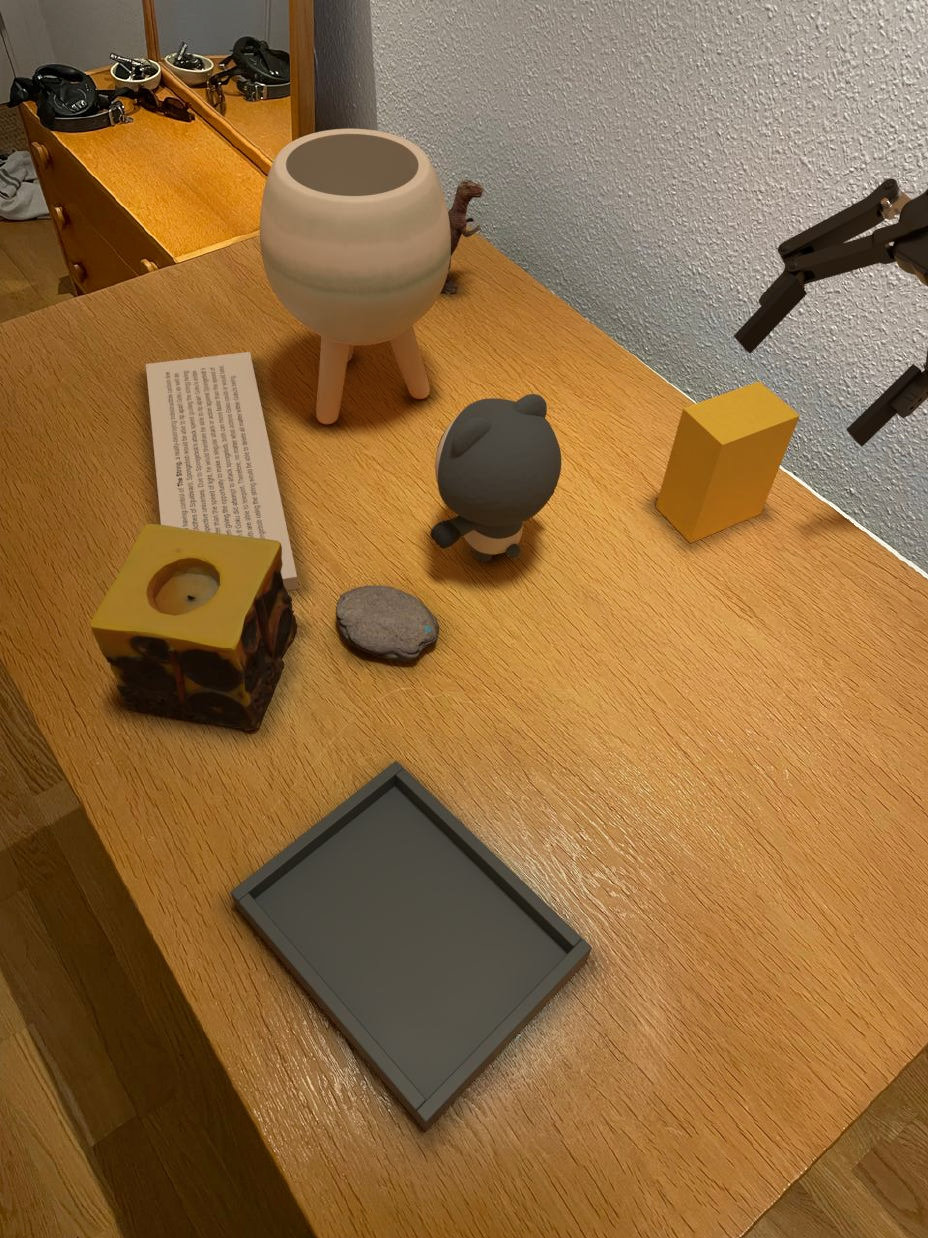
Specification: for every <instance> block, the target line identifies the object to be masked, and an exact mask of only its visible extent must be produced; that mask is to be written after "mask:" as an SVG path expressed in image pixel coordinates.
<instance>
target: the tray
mask: <svg viewBox="0 0 928 1238" xmlns="http://www.w3.org/2000/svg"><path fill="white" fill-rule="evenodd" d="M230 895H231V898H232V901H233V903H234V906H235V908H236V909H237V910H238V912H239V913H240V914H241V915H242V916H243V917H244V918H245V920H246V921H247V922H248V923H249V924H250V926H251V927H252V928H253V929H254V931H256V933H257V934H258V936H260V938H261V939H262V940H263V942H265V943H266V945H267V946H268V947H269V949H271V950H272V952H273V953H274V954H275V955H276V956H277V958H278V959H279V960H280V962H282V964H283V965H284V966H285V967H286V968H287V970H288V971H289V972H290V973H291V974H292V976H293V977H294V978H295V980H297V981H298V983H299V984H300V985H301V986H302V987H303V988H304V990H305V991H306V992H307V993H308V994H309V995H310V997H311V998H312V999H313V1000H314V1002H315V1003H316V1004H317V1005H318V1006H319V1008H320V1009H321V1010H322V1011H323V1013H325V1014H326V1016H327V1017H328V1018H329V1019H330V1020H331V1022H332V1023H333V1024H334V1025H335V1026H336V1027H337V1029H338V1030H339V1031H340V1032H341V1033H342V1035H343V1036H344V1037H345V1038H346V1040H347V1041H348V1042H349V1043H350V1044H351V1045H352V1047H353V1048H354V1049H355V1050H356V1051H357V1053H358V1054H359V1055H360V1056H361V1057H362V1058H363V1060H364V1061H365V1062H366V1063H367V1064H368V1065H369V1067H370V1068H371V1070H373V1071H374V1072H375V1074H376V1075H377V1076H378V1078H379V1079H380V1080H381V1081H382V1082H383V1084H384V1085H386V1087H387V1088H388V1089H389V1090H390V1091H391V1093H392V1094H393V1096H395V1097H396V1099H397V1100H398V1101H399V1102H400V1103H401V1105H402V1106H403V1107H404V1108H405V1109H406V1110H407V1112H408V1113H409V1114H410V1115H411V1116H412V1118H413V1119H414V1120H415V1121H416V1123H418V1125H419V1126H420V1127H421V1128H422V1129H423V1131H424V1132H427V1131H428V1130H429V1129H430V1127H432V1125H434V1124H435V1123H436V1121H437V1120H438V1119H439V1118H440V1117H442V1115H443V1114H444V1113H445V1112H446V1111H447V1110H448V1108H450V1106H451V1105H452V1104H453V1103H454V1102H455V1101H456V1100H457V1099H458V1098H459V1097H460V1096H461V1095H462V1094H463V1093H464V1092H465V1091H466V1090H467V1088H469V1086H470V1085H471V1084H472V1083H473V1082H475V1080H476V1079H477V1078H478V1077H479V1076H480V1075H481V1074H482V1073H483V1071H485V1069H486V1068H487V1067H488V1066H489V1065H490V1064H491V1063H492V1062H493V1061H495V1059H496V1058H497V1057H498V1056H499V1055H500V1053H501V1052H503V1050H504V1049H506V1047H507V1046H508V1045H509V1044H510V1043H511V1042H512V1041H513V1040H514V1039H515V1038H516V1037H517V1036H518V1034H519V1033H520V1032H521V1031H523V1029H524V1028H525V1027H526V1026H527V1025H528V1024H529V1023H530V1022H531V1021H532V1020H533V1019H534V1017H536V1015H538V1013H540V1011H541V1010H542V1009H543V1008H544V1007H545V1006H546V1005H547V1004H548V1003H549V1002H550V1001H551V1000H552V999H553V998H554V996H556V994H557V993H558V992H559V991H561V989H562V988H563V987H564V986H565V985H566V984H567V983H568V982H569V981H570V980H571V978H572V977H573V976H574V975H576V973H577V972H578V971H579V970H580V969H581V968H582V967H583V966H584V965H585V964H586V963H587V961H588V960H589V957H590V954H591V951H592V949H593V947H592V945H590V943H588V942H587V941H586V939H584V938H583V937H582V936H581V935H580V934H579V933H578V932H576V931H575V930H574V929H573V928H572V927H571V926H570V925H569V924H568V923H567V922H566V921H565V920H564V919H563V918H562V917H561V916H560V915H559V914H557V912H556V911H554V909H553V908H551V907H550V906H549V904H547V903H546V902H545V901H544V900H543V899H542V898H541V897H540V896H539V895H538V894H537V893H535V891H533V889H532V888H530V887H529V886H528V885H527V884H526V883H525V882H524V881H523V880H522V879H521V878H520V877H519V876H518V875H517V874H516V873H515V872H514V871H513V870H511V869H510V867H509V866H508V865H507V864H505V863H504V862H503V860H501V858H499V857H498V856H497V855H496V854H495V853H494V852H493V851H492V850H491V849H489V847H488V846H487V845H486V844H484V842H482V840H480V838H478V837H477V836H476V835H475V834H474V833H473V832H472V831H471V830H470V829H469V828H467V827H466V825H465V824H463V823H462V822H461V820H459V819H458V818H457V817H456V816H455V815H454V814H453V813H452V812H451V811H450V810H448V808H447V807H446V806H444V805H443V804H442V803H441V801H439V799H438V798H436V797H435V796H434V795H433V794H432V793H431V791H429V790H428V789H426V787H425V786H424V785H423V784H422V783H420V782H419V780H417V779H416V778H415V777H414V776H413V775H412V774H411V773H410V771H408V770H407V769H406V768H405V767H404V766H403V765H402V764H401V763H400V762H399V761H398V760H395V761H394V762H392V763H391V764H390V765H388V766H387V767H386V768H385V769H383V770H382V771H381V772H380V773H378V774H377V775H376V776H374V777H373V778H372V779H371V780H370V781H368V782H367V783H365V785H362V787H360V788H359V789H358V790H357V791H355V792H354V793H353V794H351V796H349V797H348V798H347V799H345V801H343V802H342V803H341V804H339V805H338V806H337V807H335V808H334V809H333V810H332V811H330V812H329V813H328V814H327V815H325V816H324V817H323V818H322V819H320V820H319V821H318V822H316V823H315V824H313V826H311V827H310V828H309V829H308V830H306V831H305V832H304V833H303V834H301V835H300V836H299V837H298V838H296V839H295V840H293V842H291V843H290V844H289V845H287V846H286V847H285V848H284V849H282V850H281V851H280V852H278V853H277V854H276V855H275V856H273V858H271V859H269V861H267V862H266V863H264V864H263V865H262V866H261V867H259V868H258V869H257V870H256V871H254V872H253V873H252V874H251V875H249V876H248V877H247V878H246V879H244V880H243V881H242V882H241V883H239V884H238V885H237V886H235V888H233V889H232V890H231V891H230Z"/></svg>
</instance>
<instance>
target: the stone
mask: <svg viewBox="0 0 928 1238" xmlns="http://www.w3.org/2000/svg"><path fill="white" fill-rule="evenodd" d="M335 616H336V620H337V624H338V628H339V633H340V636H341V637H342V639H343V640H344V641H345V642H346V643H348V644H350V645H352V646H353V647H355V648H358V649H359V650H361V651H363V652H365V653H367V654H370V655H372V656H375V657H378V658H383V659H387V660H390V661H392V662H395V661H399V662H402V663H405V662H406V663H407V662H410V661H414V660H416V659H417V658H418V657H419V656H420V653H421V652H422V651H423V649H425V648H426V647H428V646H431V645H432V644H434V643H436V642H437V641H438V638H439V633H440V625H439V623H438V620H437V617H436V615H434V614H433V613H432V611H431V610H430V609H429V608H428V606H426V605H425V604H424V602H422V600H420V599H418V598H417V597H416V596H414V595H412V594H409V593H406V591H404V590H402V589H397V588H394V587H392V586H388V585H381V584H380V585H364V586H359V587H355V588H353V589H351V590H347V591H346V592H343V594H341V595H340V597H339V598H338V600H337V602H336V608H335Z"/></svg>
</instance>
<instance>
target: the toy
mask: <svg viewBox="0 0 928 1238" xmlns="http://www.w3.org/2000/svg"><path fill="white" fill-rule="evenodd" d="M547 414H548V405H547V402H546V399H544V397H543V396H542V395H540V394H537V393H529V394H526V395H524V396H522V397H521V398H519V399H517V400H515V401H514V400H510V399H505V398H494V397H491V398H481V399H479V400H476V401H474V402H471V403H469V404H468V405H466V406H465V407H464V408H463V409H462V411H460V412H459V413H458V414H457V416H456V417H454V418H453V419H452V421H451V422H450V423H449V424H448V426H447V427H446V428H445V430H444V432H443V434H442V435H441V436H440V439H439V442H438V444H437V447H436V448H437V449H436V454H435V461H434V474H435V480H436V483H437V489H438V493H439V496H440V498H441V500H442V502H443V503H444V504H445V506H446V507H447V508H448V509H449V510H450V511H451V512H453V513H454V514H456V515H457V516H454V517H451V518H447V519H444V520H441V521H438V522H437V523H436V524H435V525H434V526H433V527H432V528H431V530H430V532H429V533H430V538H431V539H432V541H434V543H435V545H437V546H438V547H439V548H440V549H442V550H445V549H448V548H450V547H452V546H453V545H455V544H456V543H458V541H459V540H461V539H462V538H463V537H464V539H465V541H466V543H467V544H468V545H469V547H470V550H471V553H472V554H473V555H474V558H475V559H476V560H477V561H478V562H481V563H488V562H489V561H490V560H491V558H492V557H493V556H494V555H501V554H506V556H507V557H508V558H509V559H511V560H516V559H518V558H520V556H521V554H522V548H521V546H520V545H518V544H519V543H520V540H521V538H522V535H523V530H524V529H523V527H524V523H526V522H527V521H528V520H531V519H532V518H534V517H535V516H536V515H538V513H540V512H541V510H543V508H544V507H545V506H546V505H547V504H548V502H549V501H550V499H551V497H552V496H553V495H554V494H555V492H556V491H555V490H556V489H557V487H558V483H559V480H560V476H561V471H562V451H561V447H560V444H559V441H558V438H557V435H556V433H555V431H554V429H553V428H552V425H551V424H550V422H549V421H548V420H547V418H546V416H547Z"/></svg>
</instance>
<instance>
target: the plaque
mask: <svg viewBox="0 0 928 1238" xmlns="http://www.w3.org/2000/svg"><path fill="white" fill-rule="evenodd" d="M145 371H146V381H147V392H148V401H149V414H150V423H151V424H150V425H151V433H152V435H151V436H152V445H153V455H154V467H155V475H156V487H157V495H158V496H157V498H158V507H159V517H160V519H159V520H160V525H166V526H172V527H178V528H184V529H190V530H197V531H204V532H211V533H219V534H227V535H236V536H244V537H252V538H260V539H269V540H276V541H279V542H280V543H281V546H282V564H283V565H282V569H281V574H282V579H283V583H284V585H285V587H286V590H287V592H288V591H295V590H299V589H300V588H299V581H298V580H299V579H298V575H297V570H296V565H295V561H294V555H293V551H292V546H291V542H290V536H289V533H288V532H289V531H288V527H287V522H286V517H285V513H284V508H283V503H282V497H281V493H280V489H279V483H278V479H277V475H276V470H275V464H274V460H273V455H272V451H271V450H272V449H271V445H270V440H269V436H268V432H267V426H266V423H265V422H266V421H265V416H264V413H263V407H262V403H261V398H260V393H259V389H258V384H257V383H258V382H257V379H256V375H255V370H254V364H253V360H252V355H251V351H244V352H237V353H227V354H218V355H211V356H202V357H194V358H186V359H177V360H176V359H175V360H168V361H160V362H152V363H145Z"/></svg>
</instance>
